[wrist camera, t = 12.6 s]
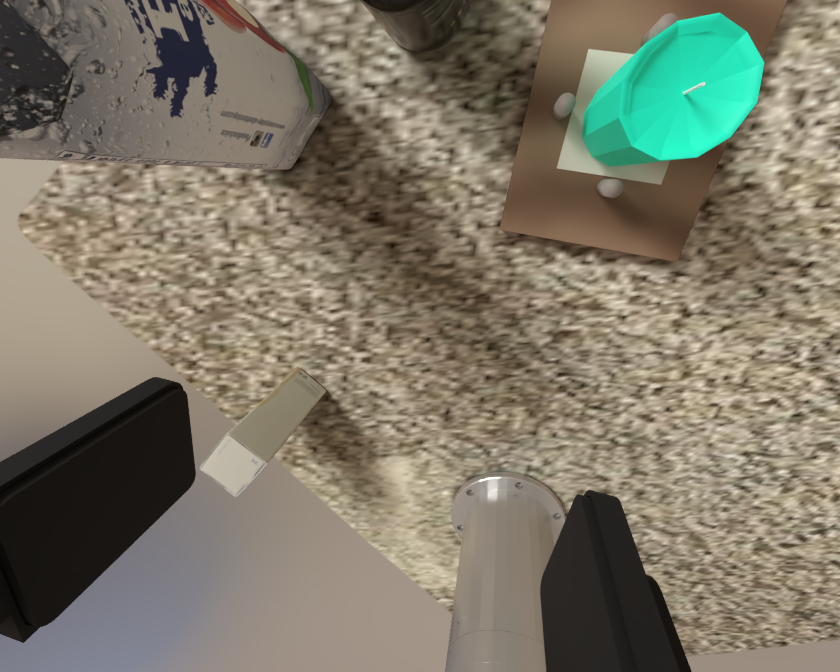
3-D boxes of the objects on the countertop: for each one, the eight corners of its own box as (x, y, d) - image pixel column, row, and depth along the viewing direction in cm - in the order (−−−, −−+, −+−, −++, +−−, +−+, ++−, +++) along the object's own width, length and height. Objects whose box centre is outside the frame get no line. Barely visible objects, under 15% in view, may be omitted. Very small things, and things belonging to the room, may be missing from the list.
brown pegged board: (671, 258, 31) (693, 270, 28) (499, 227, 33) (498, 234, 29) (788, -24, 24) (840, -62, 20) (561, -44, 26) (570, -82, 22)
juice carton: (296, 186, 36) (-170, 201, 11) (204, 103, 35) (-533, -81, 10) (350, 98, 32) (-162, -167, 7) (250, 3, 31) (-730, -669, 6)
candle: (678, 149, 28) (791, 129, 17) (589, 179, 29) (638, 179, 19) (667, 55, 26) (784, -34, 15) (573, 93, 28) (616, 38, 17)
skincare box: (298, 365, 43) (226, 429, 32) (329, 391, 43) (268, 463, 32) (271, 398, 45) (195, 468, 34) (300, 422, 46) (234, 499, 35)
